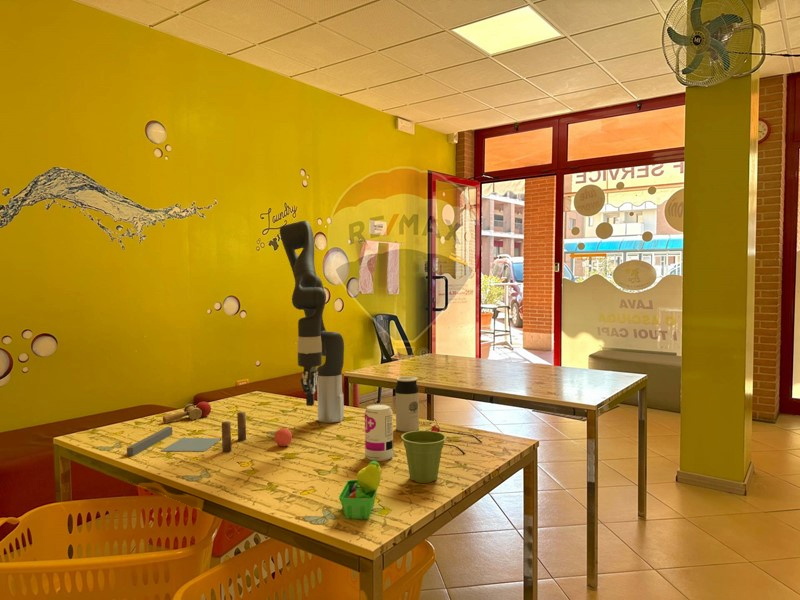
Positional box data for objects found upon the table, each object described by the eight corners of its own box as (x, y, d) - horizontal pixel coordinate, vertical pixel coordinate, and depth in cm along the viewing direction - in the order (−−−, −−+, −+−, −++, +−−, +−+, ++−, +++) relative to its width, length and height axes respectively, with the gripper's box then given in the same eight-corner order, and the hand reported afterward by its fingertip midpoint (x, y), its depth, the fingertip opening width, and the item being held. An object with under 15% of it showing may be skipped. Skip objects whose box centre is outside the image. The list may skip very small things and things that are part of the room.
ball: (294, 443, 180) (294, 426, 179) (289, 448, 174) (289, 430, 174) (277, 443, 180) (277, 426, 180) (272, 448, 175) (271, 430, 174)
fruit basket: (348, 500, 132) (347, 453, 132) (385, 501, 132) (384, 454, 131) (338, 521, 121) (337, 469, 121) (378, 522, 120) (378, 470, 120)
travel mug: (392, 428, 197) (391, 377, 196) (413, 425, 200) (412, 375, 199) (401, 433, 189) (400, 380, 189) (422, 430, 193) (422, 379, 192)
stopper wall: (172, 434, 193) (172, 427, 193) (133, 456, 169) (133, 447, 169) (166, 434, 193) (166, 426, 193) (126, 455, 169) (126, 447, 169)
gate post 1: (232, 450, 173) (231, 421, 173) (229, 452, 171) (228, 423, 170) (224, 450, 174) (223, 421, 173) (221, 452, 171) (220, 423, 171)
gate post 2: (247, 438, 186) (246, 411, 186) (244, 440, 183) (243, 413, 183) (239, 438, 186) (239, 411, 186) (236, 440, 184) (236, 413, 183)
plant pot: (413, 490, 138) (412, 445, 138) (394, 475, 149) (394, 433, 149) (455, 482, 143) (454, 439, 143) (434, 468, 154) (433, 428, 154)
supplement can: (372, 463, 159) (371, 411, 158) (361, 455, 166) (360, 405, 166) (398, 459, 162) (397, 408, 162) (385, 451, 170) (384, 402, 169)
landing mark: (222, 438, 186) (222, 438, 186) (204, 451, 172) (204, 451, 172) (182, 438, 187) (182, 437, 187) (160, 451, 173) (160, 450, 173)
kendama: (169, 429, 205) (216, 414, 217) (165, 412, 205) (212, 398, 217) (162, 429, 211) (208, 414, 223) (159, 413, 211) (204, 399, 223)
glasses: (436, 437, 186) (436, 422, 185) (483, 444, 177) (483, 428, 177) (417, 449, 174) (416, 433, 173) (466, 456, 165) (466, 440, 165)
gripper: (303, 348, 182) (304, 400, 183) (291, 353, 169) (292, 409, 170) (326, 348, 181) (326, 401, 182) (316, 353, 168) (316, 410, 169)
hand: (310, 405), depth 176 cm, fingers closed
